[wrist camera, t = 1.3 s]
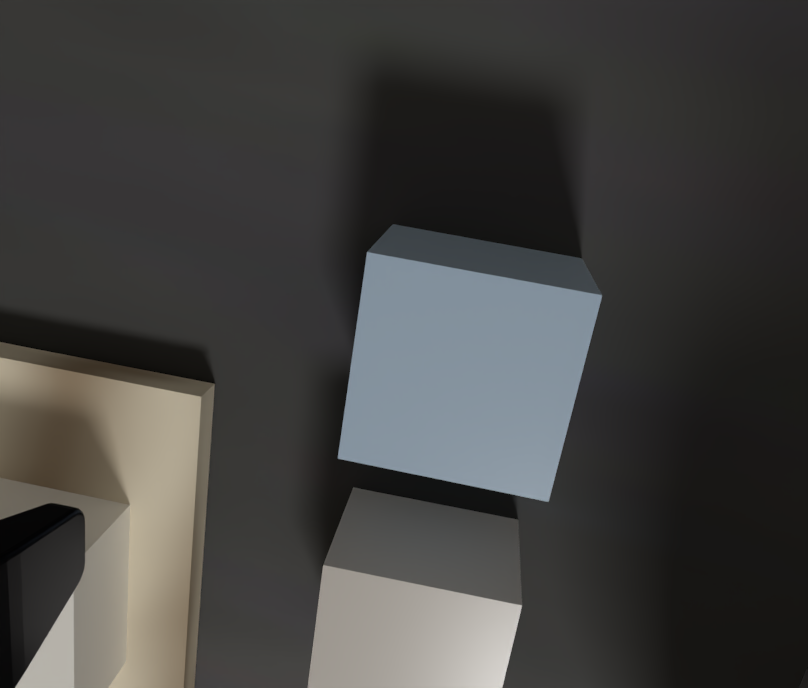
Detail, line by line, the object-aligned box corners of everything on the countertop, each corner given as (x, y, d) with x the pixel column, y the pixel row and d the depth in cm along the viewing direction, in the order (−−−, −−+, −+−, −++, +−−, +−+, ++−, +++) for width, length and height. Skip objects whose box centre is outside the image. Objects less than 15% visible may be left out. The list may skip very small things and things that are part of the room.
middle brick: (581, 257, 18) (602, 295, 15) (539, 428, 20) (548, 501, 16) (393, 223, 19) (366, 252, 15) (367, 394, 20) (337, 458, 17)
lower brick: (130, 504, 21) (73, 565, 18) (126, 661, 23) (74, 737, 20) (-56, 466, 22) (-139, 519, 19) (-45, 622, 24) (-119, 692, 21)
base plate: (214, 383, 21) (201, 396, 20) (190, 740, 25) (178, 764, 24) (-102, 322, 21) (-130, 331, 21) (-70, 679, 26) (-91, 701, 25)
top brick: (517, 517, 21) (522, 605, 17) (487, 650, 23) (485, 757, 19) (353, 485, 21) (323, 564, 18) (335, 618, 23) (303, 717, 19)
